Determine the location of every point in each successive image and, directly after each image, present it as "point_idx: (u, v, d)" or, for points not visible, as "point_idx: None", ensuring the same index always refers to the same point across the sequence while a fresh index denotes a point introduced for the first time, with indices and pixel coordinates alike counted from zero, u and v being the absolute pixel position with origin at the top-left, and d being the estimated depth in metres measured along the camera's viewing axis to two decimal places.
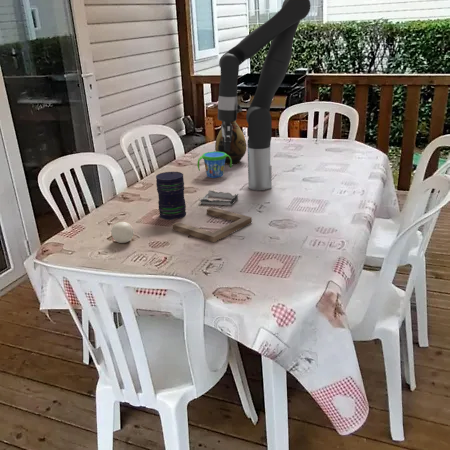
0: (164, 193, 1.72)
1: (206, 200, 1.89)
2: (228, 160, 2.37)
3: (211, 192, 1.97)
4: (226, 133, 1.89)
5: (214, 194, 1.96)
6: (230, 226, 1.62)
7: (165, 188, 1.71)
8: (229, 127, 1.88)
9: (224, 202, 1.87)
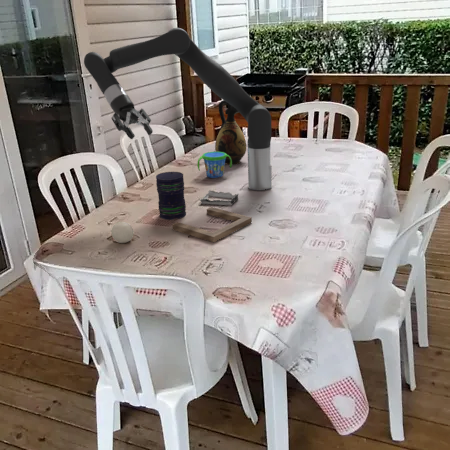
0: (164, 193, 1.72)
1: (206, 200, 1.89)
2: (228, 160, 2.37)
3: (211, 192, 1.97)
4: (115, 123, 1.74)
5: (215, 194, 1.96)
6: (230, 226, 1.62)
7: (165, 188, 1.71)
8: (113, 116, 1.74)
9: (224, 202, 1.87)
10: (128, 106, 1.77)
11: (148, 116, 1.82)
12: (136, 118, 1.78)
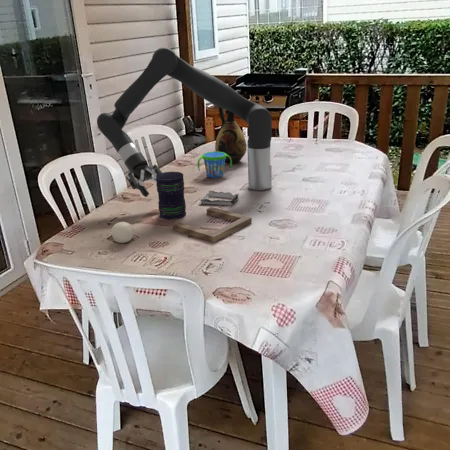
0: (164, 193, 1.72)
1: (207, 200, 1.89)
2: (228, 160, 2.37)
3: (211, 192, 1.97)
4: (129, 182, 1.79)
5: (215, 193, 1.96)
6: (230, 226, 1.62)
7: (165, 188, 1.71)
8: (127, 175, 1.79)
9: (225, 202, 1.87)
10: (142, 164, 1.82)
11: (161, 172, 1.87)
12: (150, 175, 1.83)
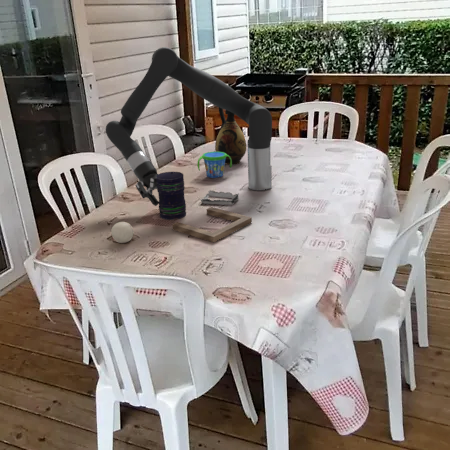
0: (164, 193, 1.72)
1: (207, 200, 1.89)
2: (228, 160, 2.37)
3: (211, 192, 1.97)
4: (139, 191, 1.77)
5: (215, 193, 1.96)
6: (230, 226, 1.62)
7: (165, 188, 1.71)
8: (137, 184, 1.77)
9: (225, 201, 1.87)
10: (151, 172, 1.81)
11: None
12: None
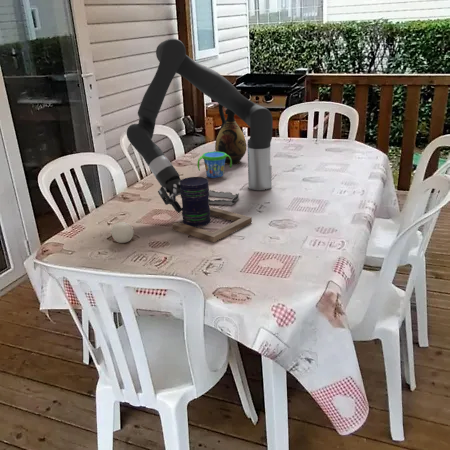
0: (189, 199, 1.65)
1: None
2: (228, 160, 2.37)
3: (211, 192, 1.97)
4: (161, 197, 1.70)
5: (215, 193, 1.97)
6: (230, 226, 1.62)
7: (190, 194, 1.64)
8: (160, 190, 1.70)
9: (226, 201, 1.87)
10: (174, 178, 1.73)
11: None
12: None
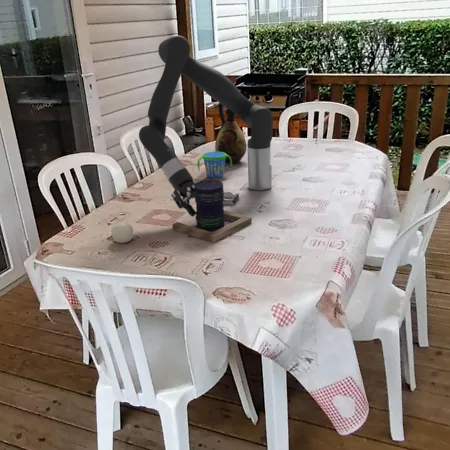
0: (204, 203, 1.61)
1: None
2: (228, 160, 2.37)
3: None
4: (175, 200, 1.66)
5: None
6: (230, 226, 1.62)
7: (205, 198, 1.60)
8: (173, 193, 1.66)
9: (226, 201, 1.88)
10: (187, 181, 1.69)
11: None
12: None
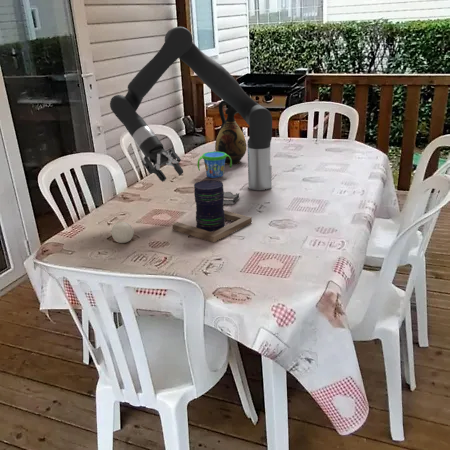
0: (204, 203, 1.61)
1: None
2: (228, 160, 2.37)
3: None
4: (145, 166, 1.71)
5: None
6: (230, 226, 1.62)
7: (205, 198, 1.60)
8: (143, 159, 1.71)
9: (227, 201, 1.88)
10: (158, 148, 1.75)
11: (178, 156, 1.80)
12: (166, 159, 1.76)
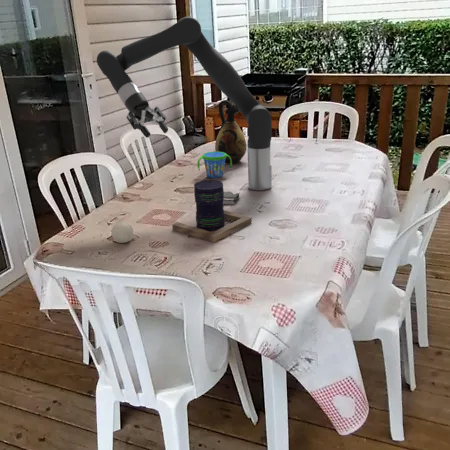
0: (204, 203, 1.61)
1: None
2: (228, 160, 2.37)
3: None
4: (130, 122, 1.71)
5: None
6: (230, 226, 1.62)
7: (205, 198, 1.60)
8: (128, 114, 1.71)
9: (227, 201, 1.88)
10: (143, 104, 1.75)
11: (163, 114, 1.79)
12: (151, 116, 1.76)
